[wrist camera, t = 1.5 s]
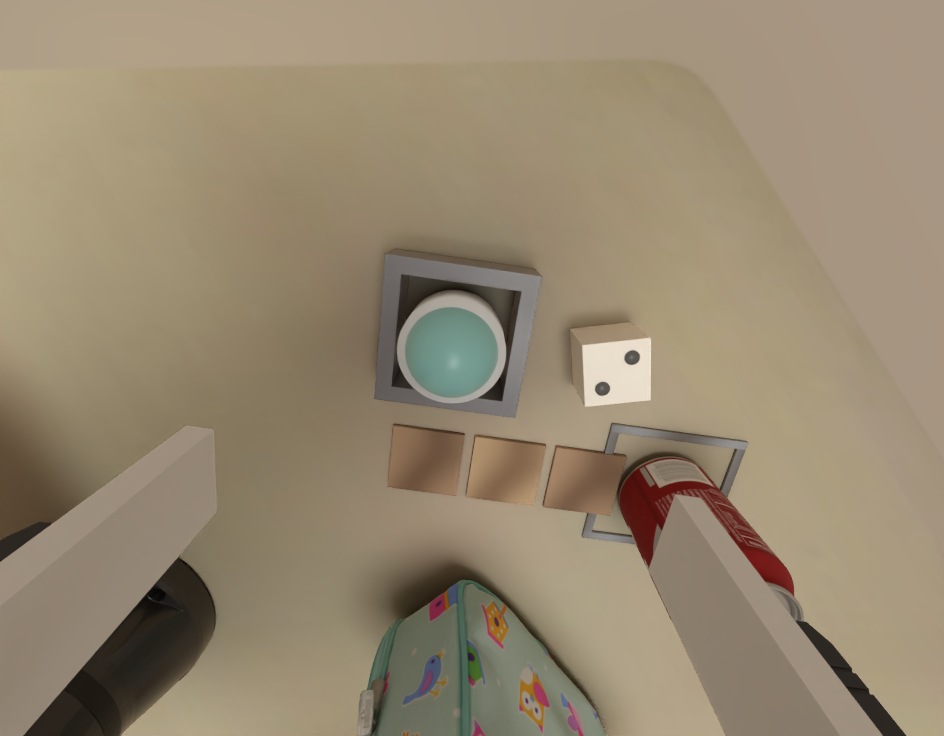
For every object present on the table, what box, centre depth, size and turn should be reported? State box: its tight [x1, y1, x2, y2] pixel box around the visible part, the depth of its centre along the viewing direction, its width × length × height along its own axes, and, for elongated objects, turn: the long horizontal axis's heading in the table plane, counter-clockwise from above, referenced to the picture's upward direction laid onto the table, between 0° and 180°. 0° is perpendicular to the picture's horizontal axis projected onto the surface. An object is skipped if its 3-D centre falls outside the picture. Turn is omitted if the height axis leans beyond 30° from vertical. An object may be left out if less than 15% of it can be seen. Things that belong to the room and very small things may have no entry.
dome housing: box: [374, 249, 542, 418], centre depth 29 cm, size 9×9×4 cm
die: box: [570, 322, 651, 407], centre depth 29 cm, size 4×4×4 cm
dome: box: [397, 289, 506, 403], centre depth 25 cm, size 6×6×5 cm
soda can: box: [619, 456, 804, 621], centre depth 29 cm, size 7×7×12 cm
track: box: [388, 423, 748, 544], centre depth 34 cm, size 26×10×1 cm, turn 82°
